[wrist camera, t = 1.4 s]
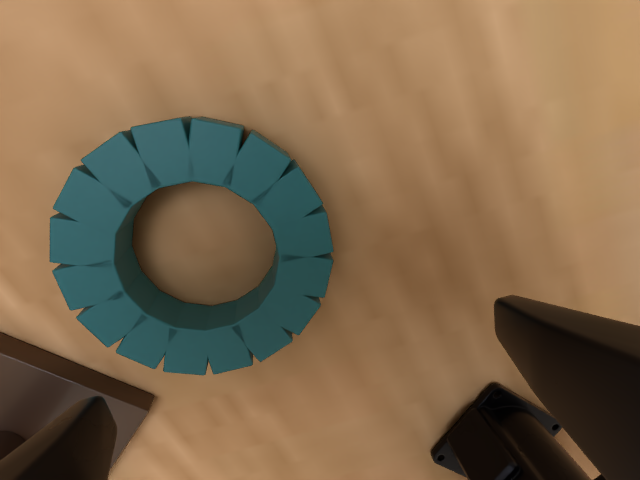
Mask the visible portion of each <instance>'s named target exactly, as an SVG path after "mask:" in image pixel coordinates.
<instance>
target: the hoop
mask: <svg viewBox="0 0 640 480" xmlns="http://www.w3.org/2000/svg"><path fill="white" fill-rule="evenodd" d="M243 133H244V126H243V125H239V124H234V123H230V122H225V121H220V120H215V119H211V118H206V117H198V118H192V117H190V116H189V117H182V118H176V119H171V120H165V121H160V122H155V123H150V124H144V125H139V126H134V127H131V130H128V131H122V132H119V133H117V134H116V135H115V136H113V137H112V138H110V139H109V140H108V141H106V142H105V143H103V144H102V145H101V146H99V147H98V148H96V149H95V150H94V151H92V152H91V153H89V154H88V155H87V156H85V157H84V158H82V159H81V161H82V163H83V164H84V165H81V166H78V167H75V168H73V170H72V172H71V174H70V176H69V178H68V180H67V182H66V184H65V185H64V187H63V189H62V191H61V193H60V195H59V197H58V199H57V201H56V203H55V204H54V206H53V209H54V210H56V211H58V212H60V213H58V214H56V215H54V216H52V217H51V218H50V262H53V263H61V264H60V265H59V266H58V267H56V268H55V269H54V270H53V271H52V272H53V274H54V276H55V279H56V281H57V283H58V285H59V287H60V289H61V292H62V294H63V296H64V298H65V300H66V302H67V305H68V307H69V309H70V310H75V309H80V308H84V307H85V308H84V309H83V310H82V311H81V312H80V314H79V315H78V316H77V317H76V318H77V320H78V321H80V322H81V323H82V324H83V325H84V326H85V327H86V328H87V329H88V330H89V331H90V332H91V333H92V334H93V335H95V336H96V337H97V338H98V339H99V340H100V341H101V342H102V343H103V344H104V345H105V346H106V347H110V346H111V345H113V344H114V343H116V342H117V341H119V340H120V339H122V338H123V337H124V338H123V340H122V341H121V343H120V345H119V346H118V348H117V350H116V353H118V354H120V355H122V356H125V357H127V358H129V359H132V360H134V361H136V362H138V363H141V364H143V365H145V366H148V367H150V368H152V369H155V368H156V367H157V366H158V364H159V363H160V361H161V360H162V358H163V357H164V355H165V359H164V368H163V371H164V372H171V373H183V374H195V375H205V374H206V370H207V365H208V360H209V363H210V366H211V369H212V372H213V374H218V373H222V372H227V371H231V370H235V369H239V368H243V367H247V366H251V365H253V355H254V356H255V357H256V358H257V359H258V360H259V361H260V362H261V361H263V360H264V359H266V358H267V357H269V356H271V355H272V354H274V353H275V352H277V351H278V350H280V349H281V348H283V347H285V346H286V345H288V344H289V343H291V342H292V341H293V339H292V333H294V334H296V335H300V333H301V332H302V330H303V329H304V328H305V326H306V325H307V324H308V322H309V321H310V319H311V318H312V317H313V315H314V314H315V313H316V311H317V310H318V309H319V307H320V306H321V303H320V300H319V297H322V298H324V297H325V294H326V290H327V285H328V281H329V277H330V273H331V269H332V264H333V259H332V257H331V254H330V253H331V252H333V251H334V250H333V245H332V239H331V234H330V228H329V223H328V217H327V213H326V211H325V209H324V208H323V206H322V204H323V202H322V201H321V199H320V198H319V196H318V194H317V193H316V191H315V190H314V188H313V187H312V185H311V184H310V182H309V181H308V179H307V178H306V176H305V175H304V173H303V172H302V170H301V169H300V167H299V166H298V164H297V163H296V161H295V160H294V159H293V160H292V161H291V158H290V157H289V155H288V153H287V152H286V151H284V150H283V149H281V148H280V147H278V146H277V145H275V144H274V143H272V142H271V141H269V140H268V139H266V138H265V137H264V136H262V135H261V134H259V133H258V132H256V131H255V130H251V132H250V134H249V135H248V137H247V139H246V140H245V142H244V143H243V145H242V139H243ZM241 146H242V147H241ZM192 181H193V182H198V183H204V184H210V185H215V186H221V187H226V188H227V189H229V190H231V191H232V192H234V193H236V194H237V195H239V196H240V197H242V198H244V199H245V200H247V201H249V202H250V203H252V204H254V206H255V207H256V208H257V210H258V211H259V212H260V214H261V215H262V216H263V218H264V219H265V220H266V222H267V223H268V224H269V226H270V227H271V229H272V230H273V234H274V238H275V243H276V250H275V255H274V260H273V266H272V267H271V268H270V270H269V271H268V273H267V274H266V276H265V277H264V279H263V280H262V282H261V283H260V285H259V286H258V287H256V288H255V289H253V290H252V291H250V292H249V293H247V294H246V295H244V296H243V297H241V298H240V299H238V300H236V301H232V302H227V303H223V304H218V305H214V306H208V305H199V304H191V303H184V302H182V301H180V300H178V299H176V298H174V297H172V296H170V295H168V294H166V293H164V292H162V291H160V290H159V289H158V288H157V287H156V286H155V285H154V284H153V283H152V282H151V281H150V279H149V278H148V277H147V276H146V275H145V274H144V273H143V272H142V271H141V269H140V266H139V263H138V261H137V258H136V255H135V253H134V250H133V247H132V237H133V224H134V217H135V216H136V214H137V212H138V211H139V209H140V207H141V205H142V204H143V202H144V200H145V198H146V197H147V196H148V195H150V194H151V193H153V192H154V191H155V190H157V189H158V188H163V187H167V186H172V185H177V184H182V183H187V182H192Z"/></svg>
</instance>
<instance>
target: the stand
mask: <svg viewBox="0 0 640 480" xmlns="http://www.w3.org/2000/svg"><path fill="white" fill-rule="evenodd" d="M98 395H99V396H102V397H103V398H104V399H105V401H106V403H107V405H108V407H109V409H110V412H111V414H112V416H113V418H114V420H115V422H116V425H117V438H116V443H115V447H114V452H113V457H112V461H111V466H110V469H111V468H112V466H113V465H114V463H115V462H116V460H117V459H118V457H119V456H120V454H121V453H122V451H123V450H124V448H125V447H126V445H127V444H128V442H129V441H130V439H131V438H132V436H133V435H134V433H135V432H136V430H137V429H138V427H139V426H140V424H141V423H142V421H143V420H144V418H145V417H146V415H147V414H148V412H149V410H150V407H151V404H152V402H153V399H154V395H151V394H149V393H147V392H144V391H142V390H139V389H137V388H134V387H132V386H129V385H127V384H125V383H122V382H120V381H117V380H115V379H112V378H110V377H107V376H105V375H103V374H100V373H98V372H95V371H93V370H90V369H88V368H85V367H83V366H81V365H78V364H76V363H73V362H71V361H68V360H66V359H63V358H61V357H59V356H56V355H54V354H51V353H49V352H46V351H44V350H41V349H39V348H36V347H34V346H32V345H29V344H27V343H24V342H22V341H19V340H17V339H14V338H12V337H10V336H7V335H5V334H2V333H0V460H2V459H3V458H4V457H6V456H7V455H8V454H10V453H11V452H12V451H14V450H15V449H16V448H18V447H19V446H20V445H21V444H23V443H24V442H25V441H27V440H28V439H29V438H31V437H32V436H33V435H35V434H36V433H37V432H38V431H40V430H41V429H42V428H44V427H45V426H46V425H48V424H49V423H50V422H52V421H53V420H54V419H55V418H57V417H58V416H59V415H61V414H62V413H63V412H65V411H66V410H67V409H69V408H70V407H71V406H72V405H74V404H75V403H76V402H78V401H79V400H81V399H85V398H89V397H93V396H98Z"/></svg>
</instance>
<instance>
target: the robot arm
mask: <svg viewBox="0 0 640 480" xmlns="http://www.w3.org/2000/svg"><path fill="white" fill-rule="evenodd" d="M494 319H495V332H496V335H497V338H498V340H499V341H500V343H501V344H502V346H503V347H504V349H505V350H506V352H507V353H508V355H509V356H510V358H511V359H512V361H513V362H514V364H515V365H516V367H517V368H518V370H519V371H520V373H521V374H522V376H523V377H524V379H525V380H526V382H527V383H528V385H529V386H530V387H531V389H532V390H533V392H534V393H535V394H536V396H537V397H538V398H539V399H540V401H541V402H542V403H543V404H544V406H545V407H546V408H547V409H548V410H549V412H550V413H551V414H550V413H548V412H546V411H545V410H543V409H541V408H540V407H538V406H536V405H534V404H533V403H531V402H529V401H527V400H526V399H524V398H522V397H520V396H519V395H517V394H515V393H514V392H512V391H510V390H508V389H507V388H505V387H503V386H501V385H500V384H497V383H495V384H492V385H490V386H489V387H488V388H487V389H486V390H485V391H484V392H483V393H482V394H481V396H480V397H479V398H478V399H477V400H476V401H475V402H474V404H473V405H472V406H471V407H470V408H469V409H468V410H467V411H466V413H465V414H464V415H463V416H462V417H461V418H460V419H459V421H458V422H457V423H456V424H455V425H454V426H453V427H452V428H451V430H450V431H449V432H448V433H447V434H446V435H445V436H444V438H443V439H442V440H441V441H440V442H439V443H438V444H437V445H436V447H435V448H434V449H433V450H432V452H431V456H432V458H433V461H434V462H435V463H436V464H439V465H441V466H443V467H445V468H447V469H449V470H452V471H454V472H456V473H458V474H460V475H463V476H465V477H467V478H468V480H591V479H590V478H589V476H588V475H587V474H586V473H585V472H584V471H583V470H582V469H581V467H580V466H579V465H578V464H577V463H576V462H575V461H574V459H573V458H572V457H571V456H570V455H569V454H568V453H567V452H566V450H565V449H564V448H563V447H562V446H561V445H560V444H559V442H558V441H557V440H556V439H555V438H554V436H555V435H556V434H557V433H558V432H559V431H560V430H561V428H562V427H563V429H564V430H565V431H566V432H567V433H568V435H569V436H570V437H571V438H572V439H573V441H574V442H575V443H576V444H577V445H578V447H579V448H580V449H581V450H582V451H583V453H584V454H585V455H586V456H587V457H588V459H589V460H590V461H591V462H592V463H593V465H594V466H595V467H596V468H597V469H598V471H599V472H600V473H601V475H599V476H598V477H597V478H595V479H594V480H640V326H637V325H633V324H628V323H624V322H620V321H616V320H612V319H608V318H604V317H600V316H596V315H592V314H588V313H584V312H580V311H576V310H572V309H568V308H564V307H560V306H556V305H552V304H548V303H544V302H540V301H535V300H531V299H527V298H523V297H519V296H515V295H510V296H506V297H502V298H498V299H496V301H495V303H494ZM495 392H496V393H495ZM116 438H117V425H116V422H115V420H114V418H113V416H112V414H111V412H110V409H109V407H108V405H107V403H106V401H105V399H104V398H103V397H102V396H99V395H98V396H93V397H89V398H85V399H81V400H79V401H78V402H76V403H75V404H74V405H72V406H71V407H70V408H69V409H67V410H66V411H65V412H63V413H62V414H61V415H59V416H58V417H57V418H55V419H54V420H53V421H52V422H50V423H49V424H48V425H46V426H45V427H44V428H42V429H41V430H40V431H38V432H37V433H36V434H35V435H33V436H32V437H31V438H29V439H28V440H27V441H25V442H24V443H23V444H21V445H20V446H19V447H18V448H16V449H15V450H14V451H12V452H11V453H10V454H8V455H7V456H6V457H4V458H3V459H2V460H0V480H108V475H109V471H110V466H111V461H112V457H113V452H114V447H115V443H116Z"/></svg>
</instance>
